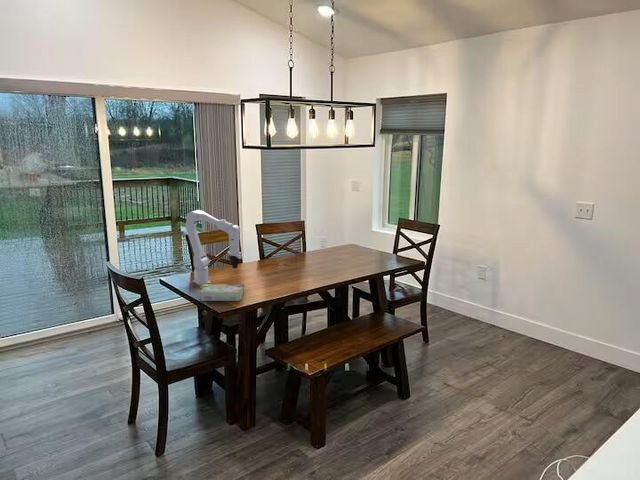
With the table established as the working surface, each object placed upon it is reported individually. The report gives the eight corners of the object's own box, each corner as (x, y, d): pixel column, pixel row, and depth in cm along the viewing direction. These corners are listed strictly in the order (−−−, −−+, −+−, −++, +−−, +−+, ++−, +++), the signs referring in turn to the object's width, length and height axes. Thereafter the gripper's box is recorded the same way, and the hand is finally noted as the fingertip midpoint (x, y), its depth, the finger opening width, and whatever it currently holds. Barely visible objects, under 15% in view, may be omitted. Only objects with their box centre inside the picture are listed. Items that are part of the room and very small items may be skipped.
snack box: (243, 282, 261) (239, 291, 246) (244, 292, 262) (240, 301, 247) (205, 283, 260) (199, 291, 245) (206, 292, 261) (200, 301, 247)
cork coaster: (197, 286, 273) (197, 285, 273) (211, 283, 278) (211, 282, 278) (203, 290, 266) (203, 289, 266) (218, 287, 271) (218, 286, 271)
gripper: (246, 247, 268) (246, 269, 271) (234, 242, 280) (235, 264, 282) (235, 248, 264) (235, 271, 267) (224, 244, 276) (224, 266, 278)
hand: (234, 268), depth 274 cm, fingers closed
